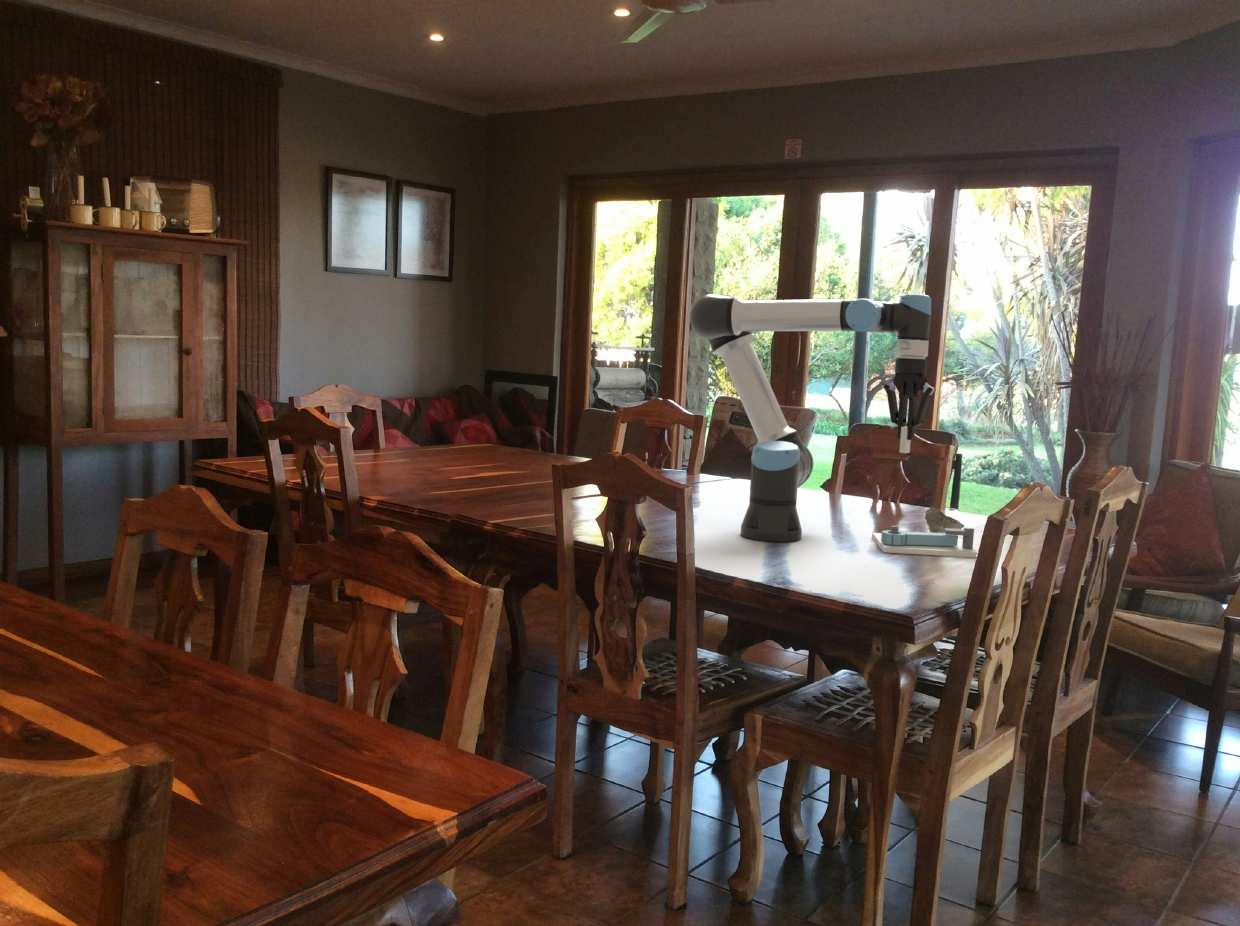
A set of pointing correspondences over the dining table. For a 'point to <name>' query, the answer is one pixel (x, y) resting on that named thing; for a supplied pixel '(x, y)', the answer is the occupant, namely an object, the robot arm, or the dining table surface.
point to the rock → (940, 521)
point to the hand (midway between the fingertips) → (904, 452)
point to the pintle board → (961, 550)
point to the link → (918, 538)
